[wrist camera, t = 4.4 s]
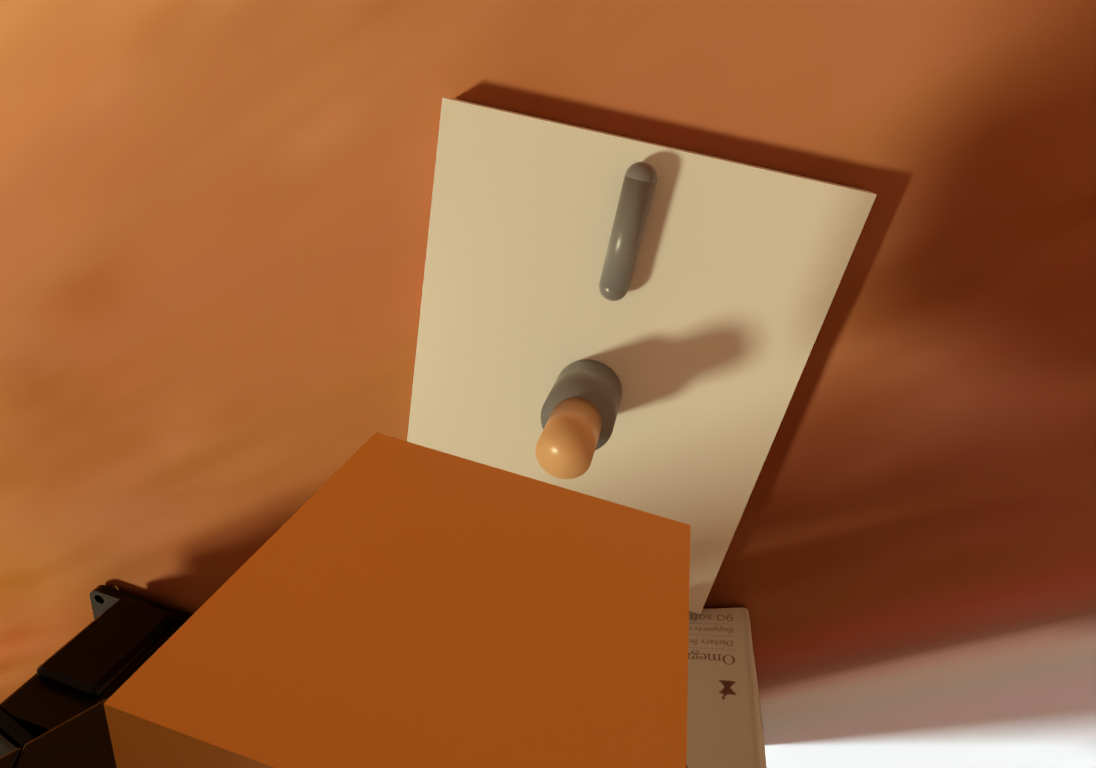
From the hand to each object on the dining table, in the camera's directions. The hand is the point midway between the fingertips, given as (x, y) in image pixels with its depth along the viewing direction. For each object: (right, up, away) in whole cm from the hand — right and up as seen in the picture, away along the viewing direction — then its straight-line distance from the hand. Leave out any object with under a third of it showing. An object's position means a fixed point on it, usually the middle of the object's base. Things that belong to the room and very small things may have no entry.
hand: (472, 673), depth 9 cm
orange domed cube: (0, +1, +1) cm, 2 cm away
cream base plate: (+2, +4, +10) cm, 11 cm away
